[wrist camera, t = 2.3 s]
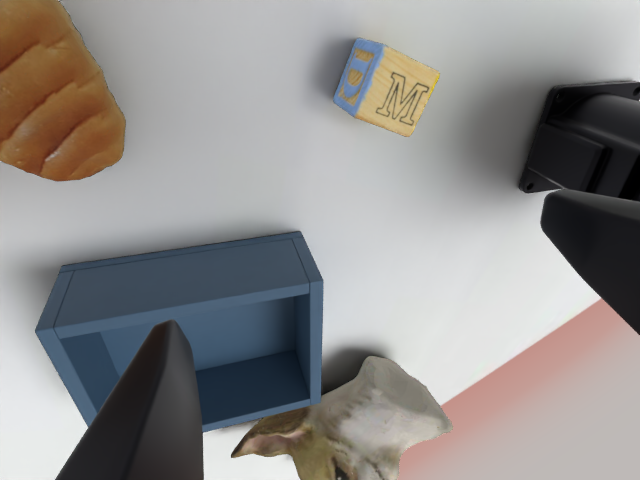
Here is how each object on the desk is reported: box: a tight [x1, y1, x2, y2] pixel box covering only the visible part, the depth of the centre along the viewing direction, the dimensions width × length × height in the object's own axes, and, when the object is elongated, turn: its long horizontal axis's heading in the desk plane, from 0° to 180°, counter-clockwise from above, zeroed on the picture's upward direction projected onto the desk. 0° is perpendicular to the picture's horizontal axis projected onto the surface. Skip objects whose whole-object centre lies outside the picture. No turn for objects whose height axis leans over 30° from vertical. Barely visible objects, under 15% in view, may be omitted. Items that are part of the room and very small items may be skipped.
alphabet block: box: [333, 38, 440, 137], centre depth 18 cm, size 3×3×3 cm
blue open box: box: [35, 232, 323, 432], centre depth 22 cm, size 12×10×5 cm
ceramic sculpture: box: [231, 356, 453, 480], centre depth 29 cm, size 11×9×15 cm
